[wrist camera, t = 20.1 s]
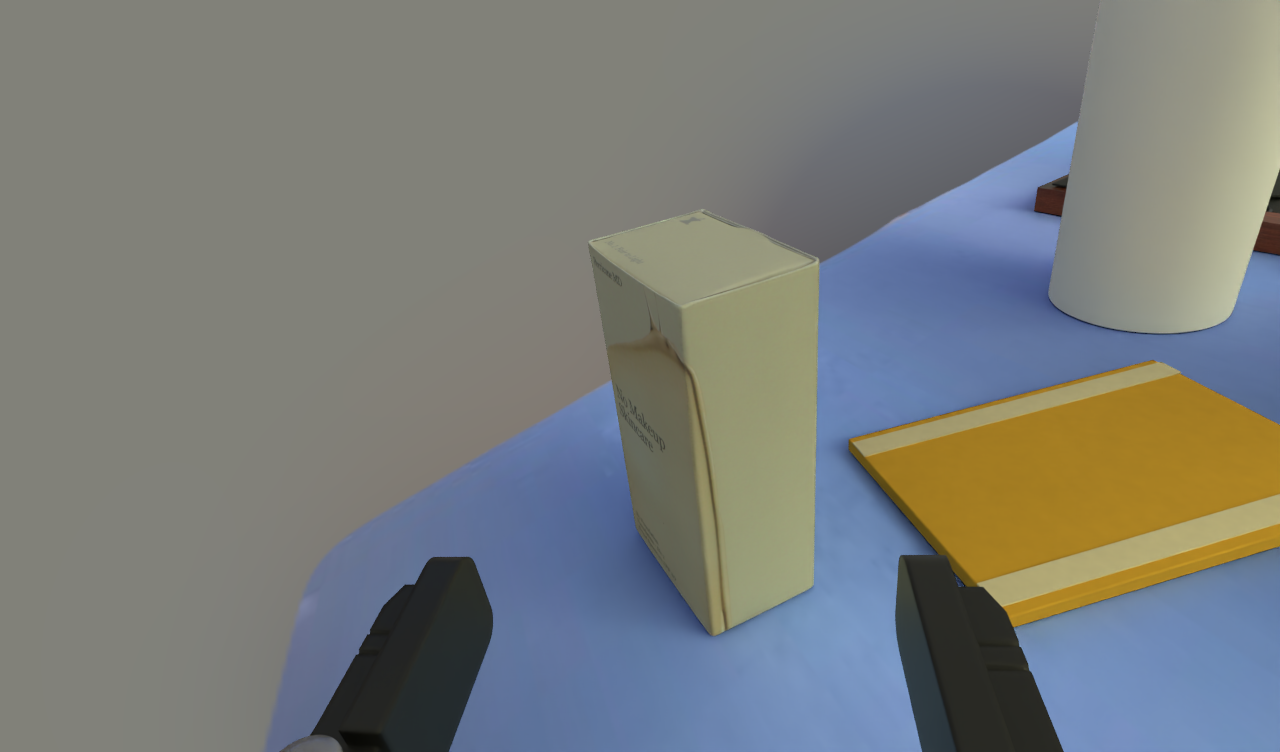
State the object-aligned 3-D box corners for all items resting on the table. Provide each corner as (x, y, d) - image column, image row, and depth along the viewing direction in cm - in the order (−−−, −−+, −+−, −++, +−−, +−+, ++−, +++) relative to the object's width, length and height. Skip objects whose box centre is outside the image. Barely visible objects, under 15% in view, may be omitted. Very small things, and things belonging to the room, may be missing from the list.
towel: (1149, 370, 31) (1153, 357, 31) (1409, 507, 22) (1418, 492, 22) (847, 449, 29) (848, 437, 29) (1003, 631, 21) (1007, 616, 20)
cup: (1046, 266, 42) (1098, -33, 34) (1214, 272, 38) (1317, -62, 30) (1049, 327, 36) (1113, -22, 28) (1250, 340, 32) (1391, -57, 24)
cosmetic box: (634, 531, 27) (576, 240, 21) (729, 489, 28) (701, 204, 22) (715, 646, 22) (670, 305, 16) (827, 588, 23) (825, 253, 17)
